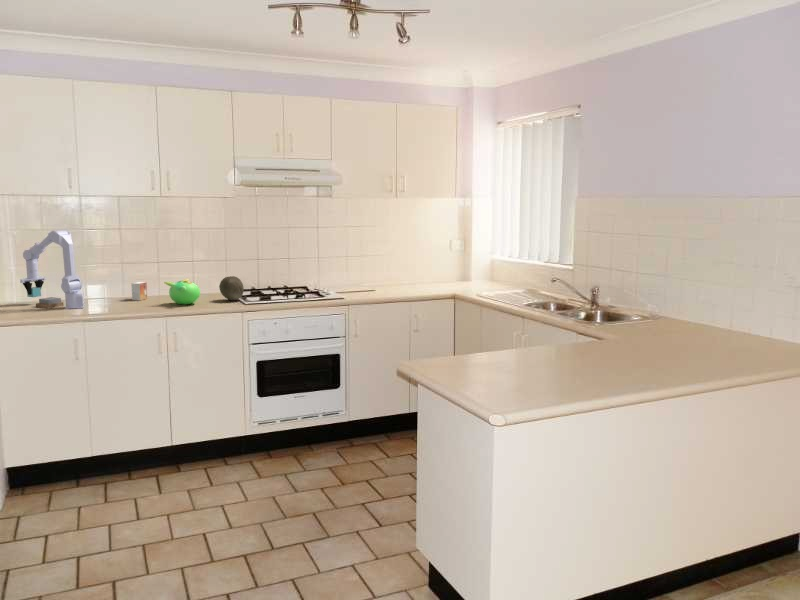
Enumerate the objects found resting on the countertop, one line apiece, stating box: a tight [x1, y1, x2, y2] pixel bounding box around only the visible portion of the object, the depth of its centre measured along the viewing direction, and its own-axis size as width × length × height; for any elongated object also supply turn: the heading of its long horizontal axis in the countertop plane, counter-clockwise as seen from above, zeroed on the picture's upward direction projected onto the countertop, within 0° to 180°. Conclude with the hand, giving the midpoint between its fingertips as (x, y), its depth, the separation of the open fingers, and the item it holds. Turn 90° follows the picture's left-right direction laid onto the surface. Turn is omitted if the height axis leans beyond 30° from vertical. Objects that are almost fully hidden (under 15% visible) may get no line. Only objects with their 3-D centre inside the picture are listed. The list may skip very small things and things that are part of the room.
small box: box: [131, 281, 148, 301], centre depth 415 cm, size 8×6×10 cm
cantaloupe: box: [218, 275, 245, 302], centre depth 415 cm, size 14×14×15 cm
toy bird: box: [163, 278, 201, 306], centre depth 400 cm, size 18×17×15 cm
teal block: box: [26, 286, 42, 298], centre depth 394 cm, size 5×5×5 cm
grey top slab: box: [38, 296, 62, 304], centre depth 389 cm, size 8×8×2 cm
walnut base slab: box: [35, 301, 64, 309], centre depth 390 cm, size 10×10×2 cm
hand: (34, 293), depth 394 cm, fingers closed on teal block, 5 cm apart
